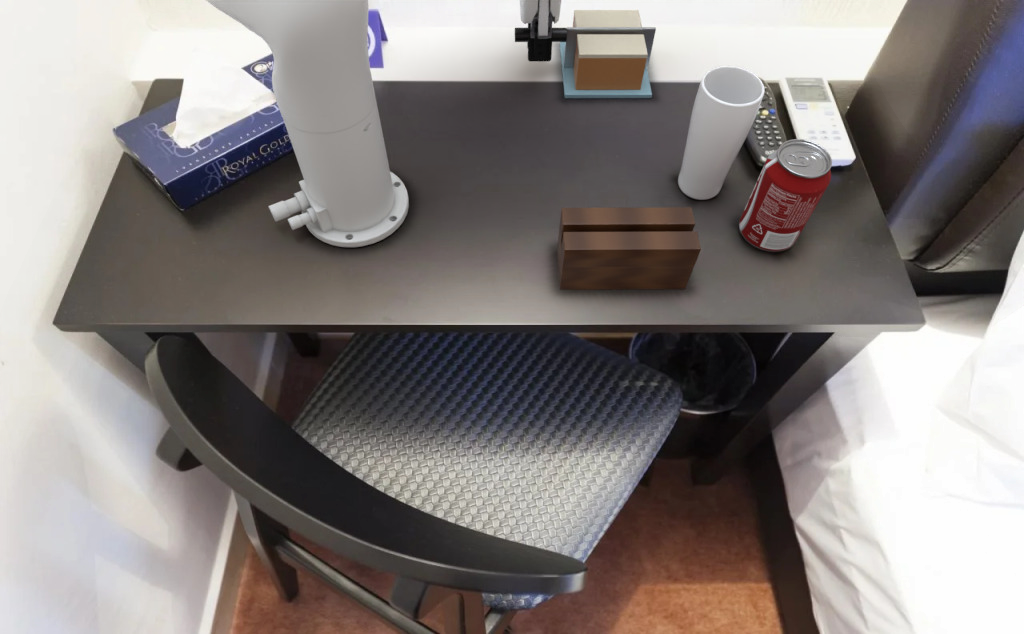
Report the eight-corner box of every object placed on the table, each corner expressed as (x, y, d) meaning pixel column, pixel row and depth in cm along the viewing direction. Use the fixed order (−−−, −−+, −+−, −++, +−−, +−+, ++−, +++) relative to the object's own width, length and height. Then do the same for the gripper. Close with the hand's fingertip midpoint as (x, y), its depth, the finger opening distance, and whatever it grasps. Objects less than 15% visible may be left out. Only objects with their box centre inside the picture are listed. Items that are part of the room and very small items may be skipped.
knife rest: (559, 289, 74) (564, 249, 68) (557, 249, 77) (561, 207, 71) (685, 289, 74) (701, 249, 68) (677, 248, 77) (691, 206, 71)
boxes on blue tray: (564, 98, 91) (568, 59, 86) (559, 45, 98) (563, 5, 93) (651, 98, 92) (660, 59, 86) (640, 45, 98) (648, 5, 93)
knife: (647, 63, 95) (654, 24, 90) (648, 70, 94) (656, 31, 89) (514, 63, 95) (514, 24, 90) (514, 71, 94) (514, 32, 89)
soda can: (796, 260, 76) (840, 185, 66) (736, 250, 77) (771, 175, 67) (794, 216, 80) (836, 139, 70) (737, 207, 81) (770, 130, 71)
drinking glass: (668, 200, 81) (698, 100, 69) (673, 162, 85) (703, 60, 72) (724, 211, 80) (764, 110, 68) (727, 172, 84) (767, 70, 71)
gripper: (512, -118, 81) (511, 20, 97) (514, -48, 73) (513, 91, 88) (573, -118, 82) (562, 20, 97) (583, -48, 73) (569, 91, 88)
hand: (539, 53), depth 92 cm, fingers closed on knife, 2 cm apart
